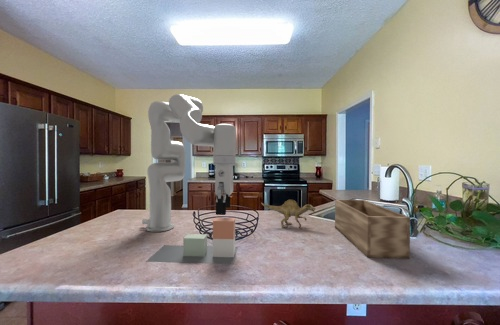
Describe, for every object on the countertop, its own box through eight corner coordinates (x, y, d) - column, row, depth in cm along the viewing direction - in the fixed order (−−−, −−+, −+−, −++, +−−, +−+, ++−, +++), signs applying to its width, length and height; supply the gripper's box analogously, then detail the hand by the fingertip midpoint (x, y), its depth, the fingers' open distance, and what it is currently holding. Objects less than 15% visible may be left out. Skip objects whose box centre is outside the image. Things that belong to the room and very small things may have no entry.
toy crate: (367, 257, 73) (367, 216, 73) (335, 227, 105) (335, 199, 105) (409, 258, 73) (410, 217, 72) (364, 228, 105) (364, 200, 104)
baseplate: (145, 263, 68) (145, 261, 68) (164, 247, 81) (164, 245, 81) (233, 266, 67) (233, 264, 67) (237, 249, 80) (237, 247, 80)
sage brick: (183, 255, 72) (183, 238, 72) (187, 250, 76) (187, 234, 76) (203, 256, 72) (203, 238, 72) (206, 251, 76) (207, 234, 76)
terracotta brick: (212, 238, 72) (212, 220, 71) (215, 234, 76) (215, 217, 75) (233, 239, 71) (233, 221, 71) (235, 235, 75) (235, 218, 75)
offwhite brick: (212, 256, 72) (212, 238, 71) (215, 251, 76) (215, 234, 75) (233, 257, 71) (233, 239, 71) (235, 252, 75) (235, 235, 75)
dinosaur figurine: (315, 229, 102) (315, 202, 102) (260, 226, 107) (260, 199, 107) (313, 225, 110) (313, 199, 110) (262, 222, 115) (262, 197, 114)
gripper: (231, 161, 64) (230, 218, 65) (238, 160, 81) (237, 205, 82) (207, 161, 65) (206, 217, 65) (218, 160, 82) (217, 204, 82)
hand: (223, 210), depth 73 cm, fingers open, 9 cm apart
